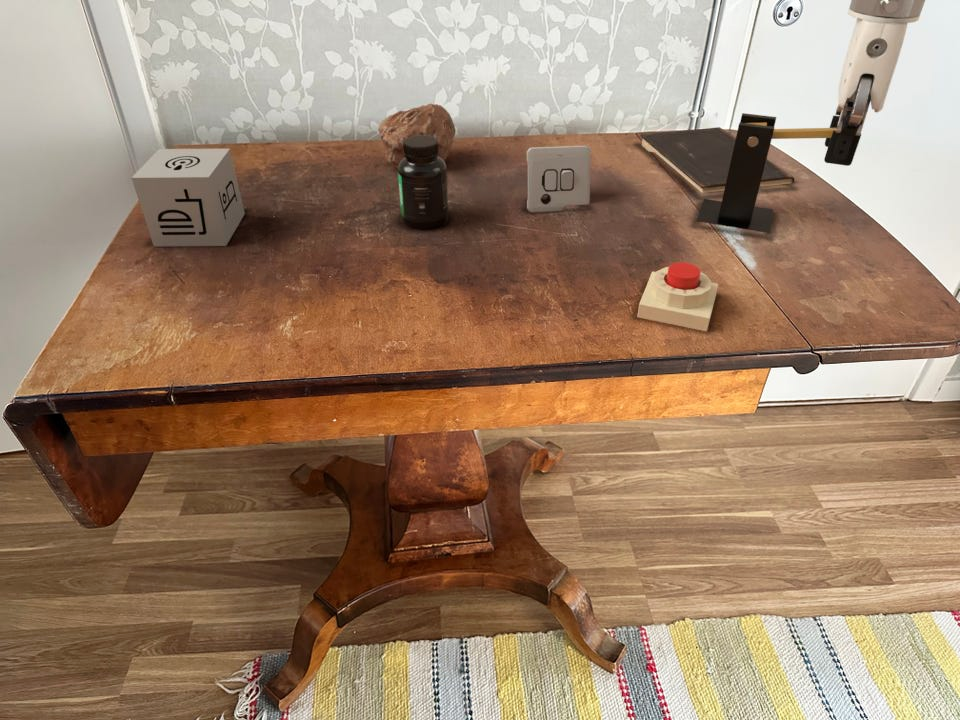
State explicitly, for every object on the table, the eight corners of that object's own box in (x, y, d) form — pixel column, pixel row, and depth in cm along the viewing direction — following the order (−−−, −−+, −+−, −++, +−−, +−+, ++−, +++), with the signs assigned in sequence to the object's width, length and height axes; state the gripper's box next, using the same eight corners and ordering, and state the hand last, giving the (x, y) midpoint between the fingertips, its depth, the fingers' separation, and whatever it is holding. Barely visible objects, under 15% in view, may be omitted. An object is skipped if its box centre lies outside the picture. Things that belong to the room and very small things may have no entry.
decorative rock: (448, 148, 125) (446, 91, 119) (465, 172, 117) (464, 112, 111) (375, 157, 122) (370, 98, 116) (387, 182, 114) (382, 120, 108)
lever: (850, 135, 92) (853, 116, 91) (851, 148, 89) (854, 129, 87) (744, 137, 97) (745, 119, 96) (741, 149, 94) (742, 131, 92)
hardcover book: (699, 200, 108) (702, 186, 107) (638, 147, 126) (640, 134, 124) (792, 190, 111) (796, 176, 109) (719, 139, 129) (722, 126, 127)
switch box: (715, 298, 86) (721, 270, 83) (706, 334, 80) (713, 304, 78) (649, 286, 88) (654, 258, 86) (636, 319, 82) (641, 290, 80)
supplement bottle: (395, 229, 101) (388, 148, 93) (410, 209, 106) (404, 130, 99) (441, 234, 99) (437, 152, 92) (453, 213, 105) (451, 134, 97)
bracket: (771, 216, 104) (799, 115, 95) (767, 240, 98) (796, 135, 89) (702, 205, 107) (722, 107, 97) (694, 228, 101) (715, 125, 92)
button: (699, 278, 83) (702, 265, 82) (695, 293, 80) (698, 280, 79) (668, 273, 84) (671, 260, 83) (663, 287, 81) (665, 274, 80)
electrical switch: (527, 214, 104) (529, 152, 99) (522, 203, 109) (524, 142, 104) (589, 212, 105) (594, 149, 100) (582, 200, 109) (586, 140, 104)
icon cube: (226, 245, 97) (208, 177, 91) (153, 246, 97) (131, 177, 91) (244, 213, 105) (230, 148, 99) (177, 214, 105) (158, 149, 99)
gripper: (930, 21, 73) (870, 185, 85) (916, -9, 86) (865, 137, 97) (853, 15, 76) (804, 175, 87) (850, -14, 88) (808, 129, 99)
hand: (837, 153), depth 92 cm, fingers closed on lever, 5 cm apart
